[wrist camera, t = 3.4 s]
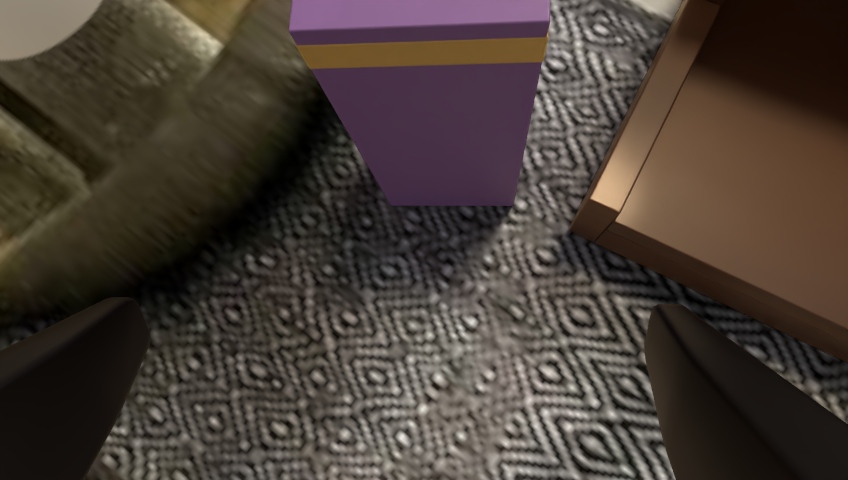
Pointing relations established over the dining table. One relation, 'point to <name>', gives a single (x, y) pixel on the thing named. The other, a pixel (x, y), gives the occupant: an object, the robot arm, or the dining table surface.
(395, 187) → the chocolate box
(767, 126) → the walnut shelf
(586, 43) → the dining table surface
